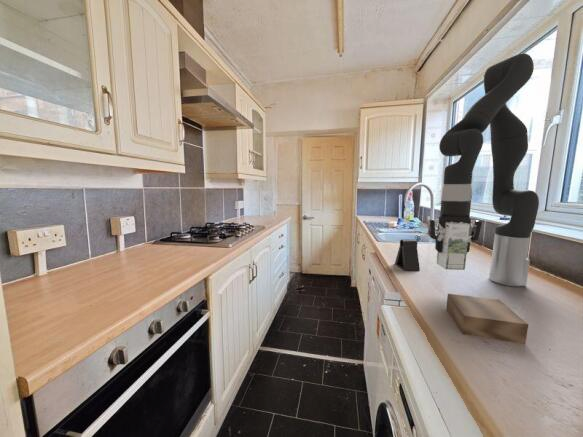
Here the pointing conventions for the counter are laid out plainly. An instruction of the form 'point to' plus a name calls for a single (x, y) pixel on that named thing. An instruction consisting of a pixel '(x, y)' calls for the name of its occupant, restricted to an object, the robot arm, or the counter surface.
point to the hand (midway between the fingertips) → (451, 252)
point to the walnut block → (486, 318)
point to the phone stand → (408, 256)
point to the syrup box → (454, 246)
